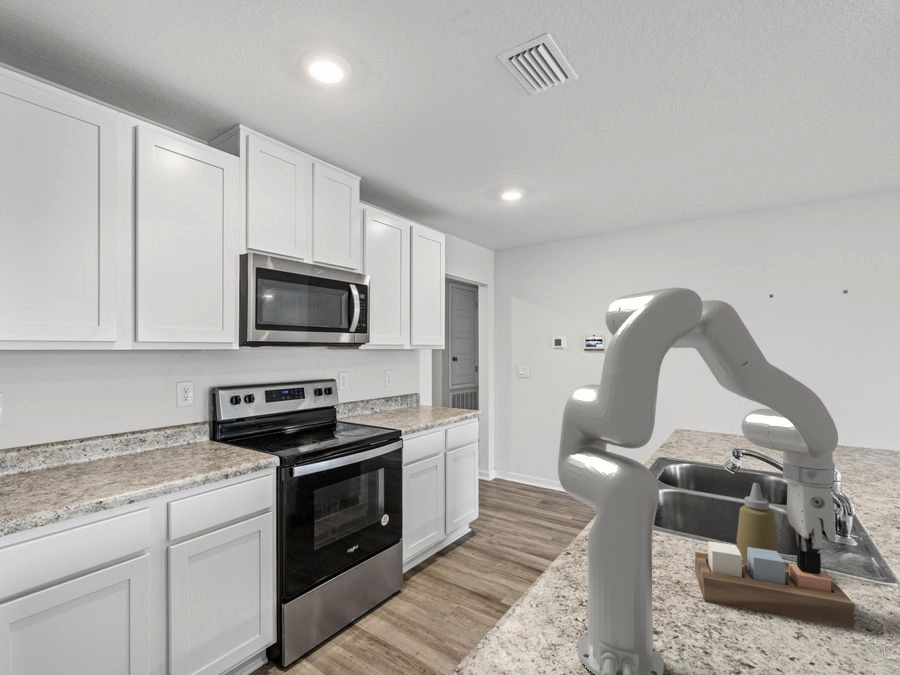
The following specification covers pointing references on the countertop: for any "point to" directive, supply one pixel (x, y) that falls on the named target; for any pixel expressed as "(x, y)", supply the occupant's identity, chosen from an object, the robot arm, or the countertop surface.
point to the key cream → (724, 559)
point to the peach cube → (809, 579)
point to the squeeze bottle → (756, 524)
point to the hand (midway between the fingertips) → (808, 570)
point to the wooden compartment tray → (775, 596)
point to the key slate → (765, 565)
